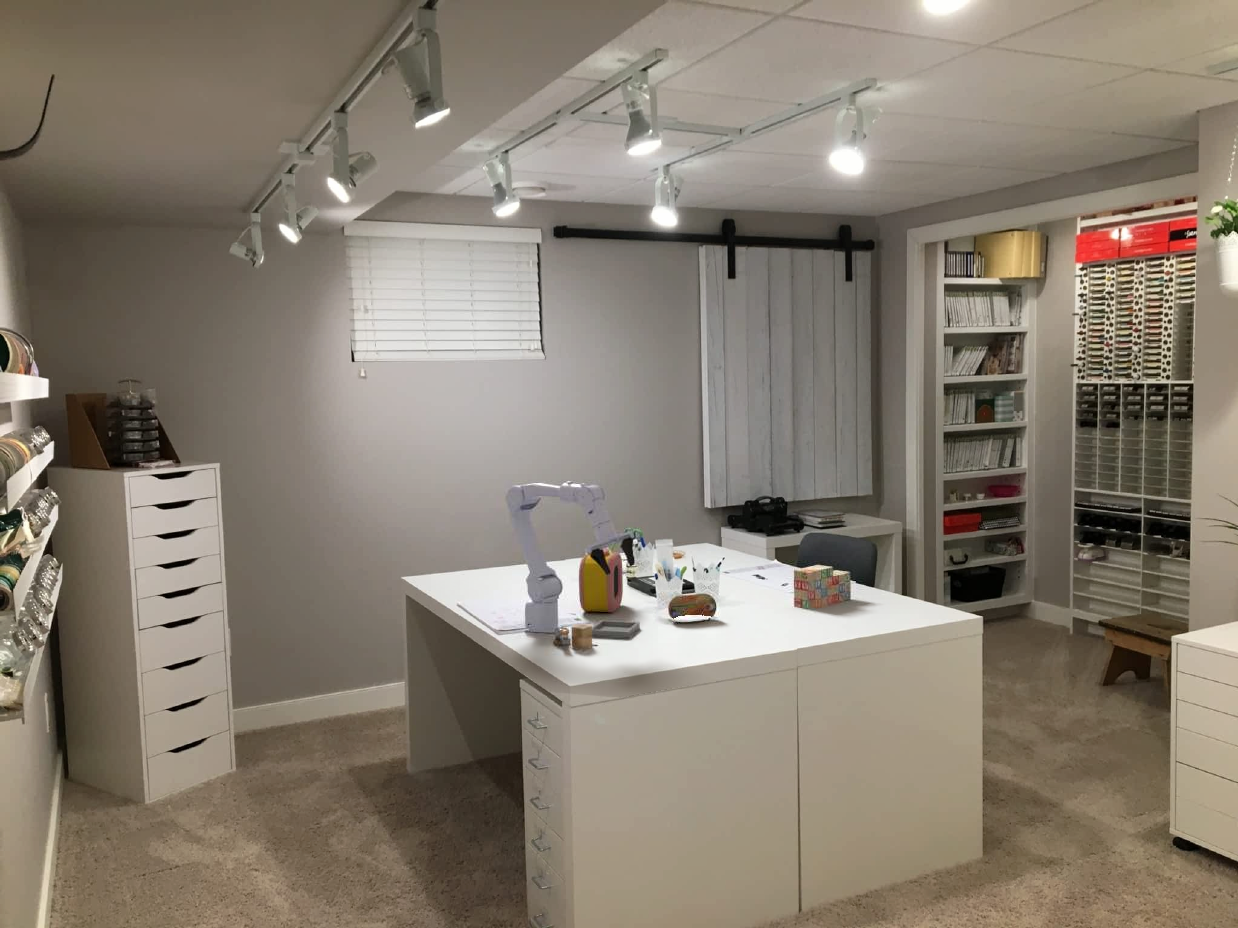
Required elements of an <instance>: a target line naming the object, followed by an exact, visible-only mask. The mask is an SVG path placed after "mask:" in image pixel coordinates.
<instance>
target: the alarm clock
mask: <svg viewBox="0 0 1238 928" xmlns="http://www.w3.org/2000/svg"><path fill="white" fill-rule="evenodd" d="M600 550H601V549H600ZM603 552H604V556H605V559H606V562H607V564H608V567H609V569H610V572H611V573H610V574H608V575H606V574H605V572H604V571H603V569H602V568H601V567H600V565H599V564H598V563H597V562H596V561H594V560H593V559H592V558H591V557H590V554H591V553H590V554H587V553H586V555H584V556H583V557H582V558H581V559H580V560H581V561H580V564H579V569H578V589H579V591H578V594H579V595H578V596H579V597H578V598H579V603H580V607H581V609H582V611H584V612H585V613H588V612H604V613H605V612H607V613H610V614H611V613H614V612H615V611H616V610H617V609H618V608H619V607H620V605H621V604H622V600H623V592H624V588H623V585H624V581H623V560H622V556H621V554H620V553H619V552H617V551H614V552H610V549H609V548H608V547H606V548H603Z"/></svg>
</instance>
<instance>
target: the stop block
mask: <svg viewBox="0 0 1238 928" xmlns="http://www.w3.org/2000/svg"><path fill="white" fill-rule="evenodd" d="M592 627H593V625H589V624H583V623H579V624H577V625H573V626H571V648H572V647H573V648H572V649H574V648H577V649H576V650H579V649H585V650H588V649H590V648H589V647H591V648H593V646H592V644H593V637H592ZM587 648H588V649H587Z"/></svg>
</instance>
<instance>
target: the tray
mask: <svg viewBox="0 0 1238 928" xmlns="http://www.w3.org/2000/svg"><path fill="white" fill-rule="evenodd" d="M640 625H641V624H640V622H639V621H623V620H605V619H604V620H603V619H602V620H599V621H598V622H597V623H596V624H594V625H592V638H603V639H605V638H606V639H607V638H608V639H619V640H621V639H623V640H629V639H630V638H631V637H632V636H633V635H635V634H636V633H637V632H638V631H639V630H640V629H641V627H640Z"/></svg>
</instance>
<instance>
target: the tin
mask: <svg viewBox="0 0 1238 928" xmlns="http://www.w3.org/2000/svg"><path fill="white" fill-rule="evenodd" d="M667 609H668V610H667V611H668V614H669V617H670V618H671V619H672V618H673V619H674V618H676V617H678V616H685V615H702V616H703V615H704V616H711V617H712V618H713V617H714V616H715V614H716V611H717V602H716V600H715V598H714V596H712V595H710V594H708V593H693V594H682V595H676V596H675V597H673V598H671V600H670V601H669V603H668V607H667ZM673 619H672V620H673Z"/></svg>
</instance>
